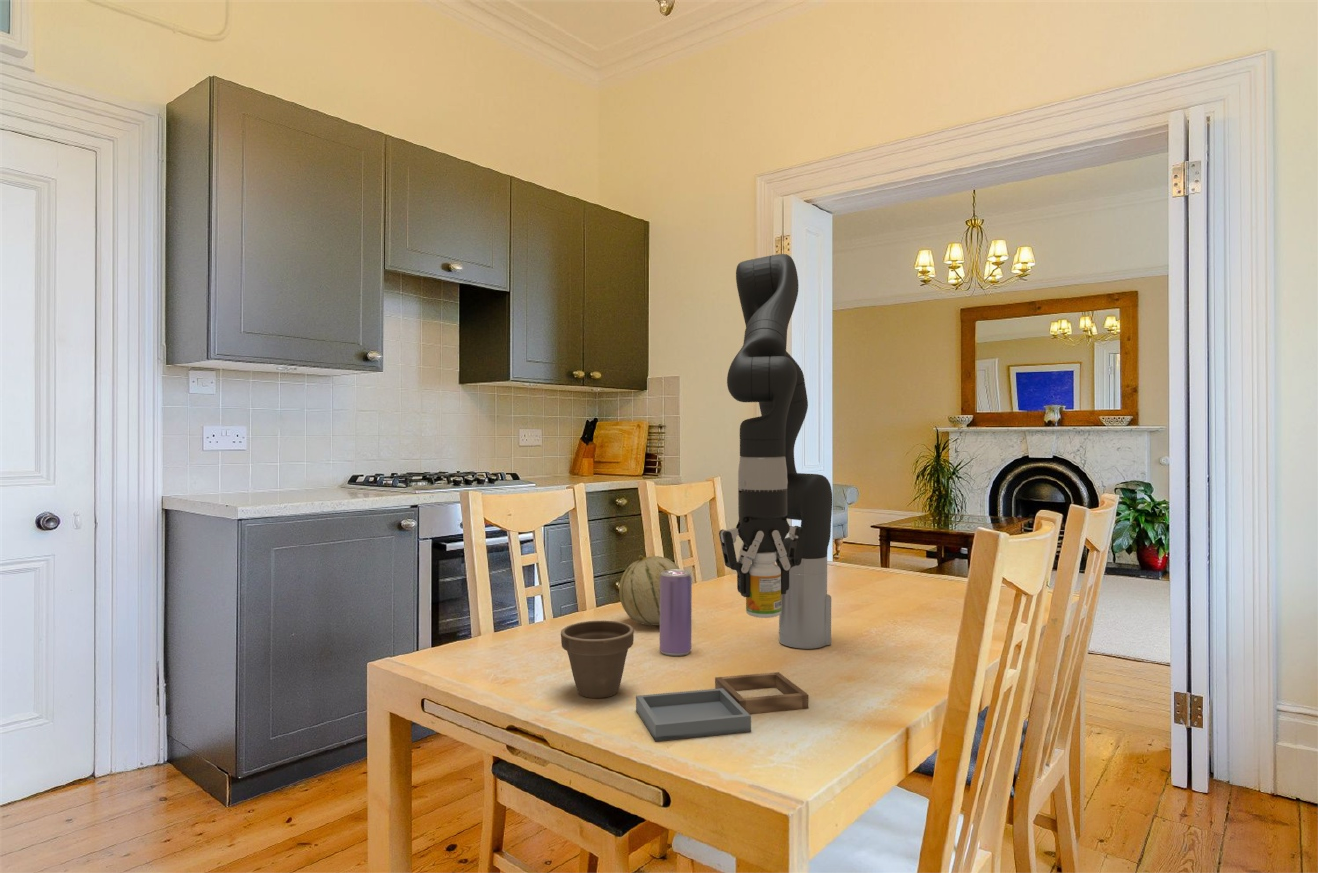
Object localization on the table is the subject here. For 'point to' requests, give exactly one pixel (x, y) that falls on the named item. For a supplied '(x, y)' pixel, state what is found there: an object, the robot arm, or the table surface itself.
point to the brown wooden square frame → (788, 701)
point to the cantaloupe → (644, 588)
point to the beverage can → (675, 612)
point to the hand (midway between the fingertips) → (763, 594)
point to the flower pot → (597, 655)
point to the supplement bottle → (764, 586)
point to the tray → (692, 714)
